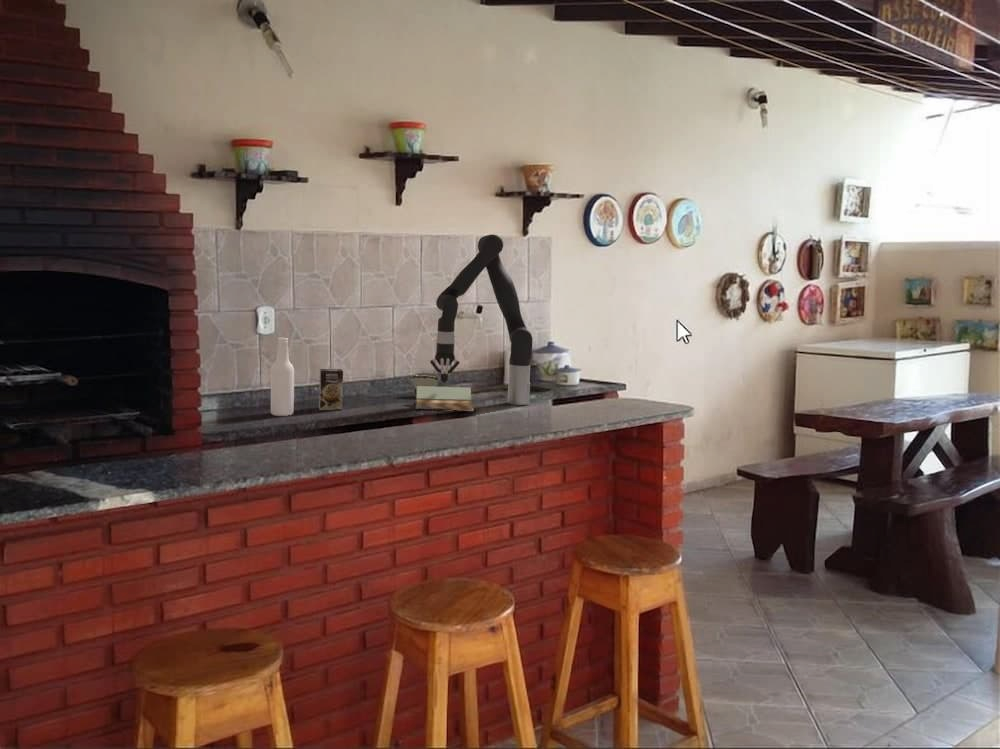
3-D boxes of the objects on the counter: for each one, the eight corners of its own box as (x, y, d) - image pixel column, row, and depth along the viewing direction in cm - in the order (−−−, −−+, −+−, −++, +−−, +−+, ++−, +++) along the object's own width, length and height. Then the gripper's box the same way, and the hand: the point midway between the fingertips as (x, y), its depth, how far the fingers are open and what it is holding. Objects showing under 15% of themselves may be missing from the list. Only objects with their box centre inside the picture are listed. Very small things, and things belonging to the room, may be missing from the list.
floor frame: (471, 403, 408) (471, 396, 407) (473, 411, 392) (474, 403, 391) (414, 402, 405) (414, 395, 405) (414, 409, 389) (415, 402, 389)
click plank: (470, 391, 406) (470, 387, 404) (470, 403, 399) (471, 399, 398) (416, 390, 403) (416, 386, 402) (416, 402, 397) (416, 398, 396)
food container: (440, 395, 424) (441, 373, 422) (438, 398, 418) (439, 375, 416) (413, 394, 425) (414, 372, 423) (411, 396, 419) (411, 374, 417)
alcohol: (288, 417, 363) (289, 339, 359) (266, 415, 365) (267, 338, 360) (297, 412, 372) (298, 337, 367) (276, 411, 373) (276, 336, 369)
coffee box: (319, 410, 379) (320, 370, 376) (318, 407, 385) (319, 368, 382) (342, 410, 381) (343, 370, 379) (341, 407, 387) (341, 368, 385)
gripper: (460, 341, 403) (459, 381, 405) (429, 340, 401) (428, 380, 404) (461, 343, 395) (460, 384, 398) (430, 342, 394) (428, 383, 397)
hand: (444, 382), depth 401 cm, fingers closed
